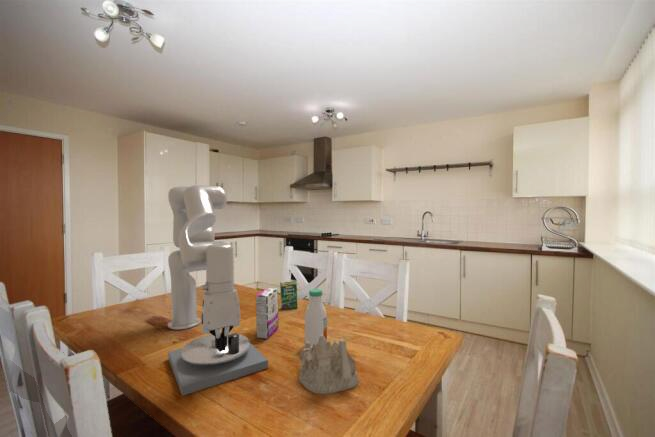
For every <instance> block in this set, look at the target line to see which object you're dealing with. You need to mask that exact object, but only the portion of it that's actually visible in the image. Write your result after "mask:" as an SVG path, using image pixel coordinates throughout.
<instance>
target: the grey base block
mask: <svg viewBox="0 0 655 437" xmlns="http://www.w3.org/2000/svg"><path fill="white" fill-rule="evenodd" d="M182 348H183V347H182ZM182 348H178V349H173V350H169V351H168V352H167V354H168V363H169V364H170V367H171V369H172V371H173V376H174V377H175V381H176V383H177V386H178V388H179V391H180V394H181V396H182V397H183V396H186V395H189V394H193V393H196V392H198V391H202V390H205V389H208V388H211V387H214V386H218V385H219V384H224V383H227V382H229V381H232V380H235V379H239V378H242V377H245V376H249V375H251V374H255V373H257V372H261V371H264V370H266V369H269V360H268V359H267V357H265V356H264V355H263V353H262V352H260V351H259V350H258V349H257V348H256V347H255V346H254V345H253V344H252V343H251V342H250V341H249V349H248V351H247V352H246V353H245V354H243V355H242V356H240V357H239V358H236V359H234V360H232V361H229V362H226V363H222V364H217V365H207V366H200V365H192V364H189V363H186V362H185V361H183V359H182V357H181V351H182Z"/></svg>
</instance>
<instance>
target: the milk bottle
mask: <svg viewBox="0 0 655 437" xmlns="http://www.w3.org/2000/svg"><path fill="white" fill-rule="evenodd" d="M308 293H309V294H308V295H309V296H308V297H309V302H308V304H307V306H306V309H305V313H304V346H305V347H306V342H309V343H310V345H311V346H312V347H313V344H318V341H319V337H320V334H322V335H324V338H326V341H328V325H327V324H328V323H327V321H328V318H327V317H328V316H327V310H326V309H327V308H325V305H324V302H323V300H322V297H323V290H322V289H320V288H319V289H318V288H312V289H310V290H309V292H308Z"/></svg>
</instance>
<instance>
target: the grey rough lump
mask: <svg viewBox="0 0 655 437" xmlns="http://www.w3.org/2000/svg"><path fill="white" fill-rule="evenodd" d="M299 359H300V360H301V366H300V368H299V370H298V371H299V374H298V375H299V377H298V380H299V382H300V384H301V385H302V386H304V388H305V389H306V390H308V391H310V392H311V393H316V394H322V395H326V394H327V395H328V394H334V393H337V392H341V391H345V390H350V389H353V388H356V387H357V386H358V385H359V383H360V382H359V381H360V379H359V376H358V373H357V371H356V370H357V367H356V365H355V364H356V362H357V360H355V359H354V357H352V356H351V354H350V353H349V351H348V348H347V342H346V339H344V338H340V339H339V341H338V342H337V340H333V343H331V340H330V339H329V340H327V341H326V338H324V335H322V334H320V337H319V341H318V344H313V347H312V346H311V345H310V343H309V342H306V346H305V347H304V348H302V350H301V352H300V354H299Z"/></svg>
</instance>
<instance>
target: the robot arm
mask: <svg viewBox="0 0 655 437" xmlns="http://www.w3.org/2000/svg"><path fill="white" fill-rule="evenodd" d="M167 194H168V196H167V198H168V199H167V200H168V203H169V206H170V209H171V210H172V215H173V222H172V224H173V226H172V227H173V228H172V240H173V245H174V246H175V247H176V248H179V249H178V250H175V251H172V252H171V253H170V254H169V256H168V259H167V260H168V261H167V262H168V263H167V264H168V268H169V272H170V274H169V275H170V286H171V287H170V289H171V290H170V292H171V297H170V298H171V300H170V301H171V320H170V321H169V322H168V323H167V328H168V329H170V330H177V331H178V330H186V329H192V328H194V327H197V326H198V325H200V324H201V329H200V332H201V334H202V335H203V334H204V335H206V334H207V335H211V334H212V335H213V336H215V347H216V349H218V350H219V351H220V352H221V351H225V350H226V346H227V336H228V335H229V333H231V331H232V329H234V328H237V327H239V326H240V322H241V308H240V299H239V294H238V289H236V288H235V282H234V281H235V276H234V275H235V274H234V273H235V272H234V271H235V270H234V269H235V268H234V262H235V261H234V247H233V245H232V244H229V243H228V242H226V241H224V240H216V241H215V231H214V229H213V226H214V225H215V223H216V221H217V216H216V214H215V210H222V209H224V208H225V207H226V205H227V204H228V203H227V200H228V199H227V198H228V197H227V194H226V191H225V190H224V188H222V187H221V186H215V185H190V186H174V187H172V188H170V189H169V190H168V193H167ZM199 271H200V272H201V271H206V272H205V275H206V276H205V277H206V279H205V280H206V281H205V284H203V285H202V284H201V285H200V290H201V291H205V292H203V297H202V304H201V318H200V317H197V313H198V312H197V310H198V309H197V282H196V279H195V278H194V277H193V276H192V275H191V274H190V273H193V272H199ZM220 329H221V330H220ZM220 331H221V332H220ZM220 333H221V334H220Z"/></svg>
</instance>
